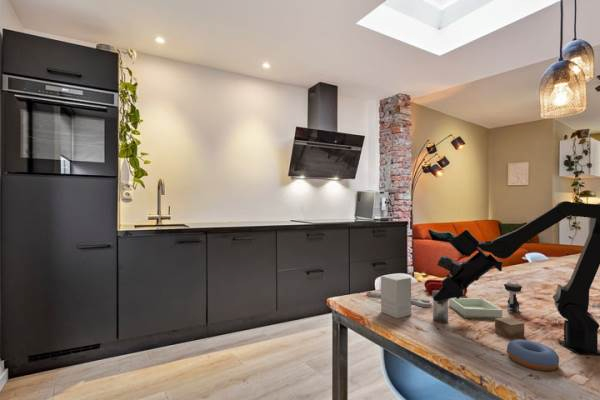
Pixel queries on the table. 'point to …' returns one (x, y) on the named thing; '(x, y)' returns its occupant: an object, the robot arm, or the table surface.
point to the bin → (475, 308)
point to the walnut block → (509, 327)
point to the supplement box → (396, 295)
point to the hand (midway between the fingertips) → (435, 297)
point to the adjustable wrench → (414, 301)
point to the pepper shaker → (440, 309)
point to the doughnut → (533, 355)
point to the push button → (513, 296)
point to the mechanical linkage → (435, 286)
